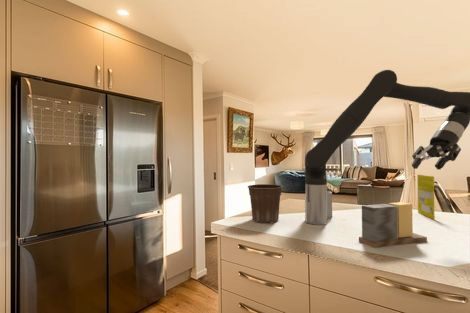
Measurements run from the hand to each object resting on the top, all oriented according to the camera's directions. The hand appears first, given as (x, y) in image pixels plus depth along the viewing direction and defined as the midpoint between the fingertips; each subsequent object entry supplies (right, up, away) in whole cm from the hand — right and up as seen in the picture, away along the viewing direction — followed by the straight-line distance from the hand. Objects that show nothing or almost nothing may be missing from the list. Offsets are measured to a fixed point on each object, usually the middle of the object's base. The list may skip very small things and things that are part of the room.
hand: (425, 167), depth 93 cm
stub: (-11, -23, -4) cm, 26 cm away
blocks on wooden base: (-14, -25, -5) cm, 29 cm away
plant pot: (-55, -26, +27) cm, 67 cm away
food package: (+25, -26, +34) cm, 49 cm away
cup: (-25, -26, +36) cm, 51 cm away
